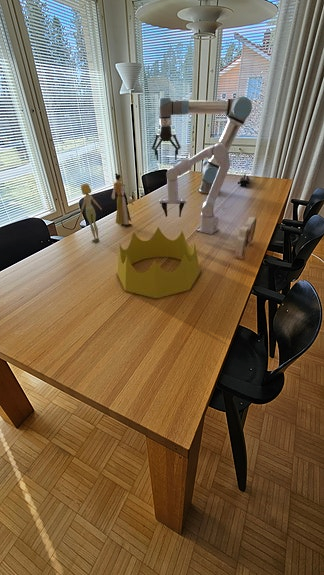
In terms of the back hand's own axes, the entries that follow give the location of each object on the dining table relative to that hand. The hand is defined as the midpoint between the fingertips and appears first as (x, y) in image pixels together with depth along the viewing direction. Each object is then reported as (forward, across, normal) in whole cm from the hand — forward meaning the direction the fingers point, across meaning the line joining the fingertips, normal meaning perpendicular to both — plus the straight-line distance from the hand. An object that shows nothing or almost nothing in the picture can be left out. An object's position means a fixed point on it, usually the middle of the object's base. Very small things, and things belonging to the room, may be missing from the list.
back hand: (166, 160), depth 191 cm
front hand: (+19, +14, -63) cm, 67 cm away
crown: (+26, +15, -111) cm, 115 cm away
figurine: (+26, -16, -60) cm, 67 cm away
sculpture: (+26, -25, -83) cm, 90 cm away
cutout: (+26, +53, -85) cm, 103 cm away
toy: (+26, +61, +45) cm, 80 cm away
